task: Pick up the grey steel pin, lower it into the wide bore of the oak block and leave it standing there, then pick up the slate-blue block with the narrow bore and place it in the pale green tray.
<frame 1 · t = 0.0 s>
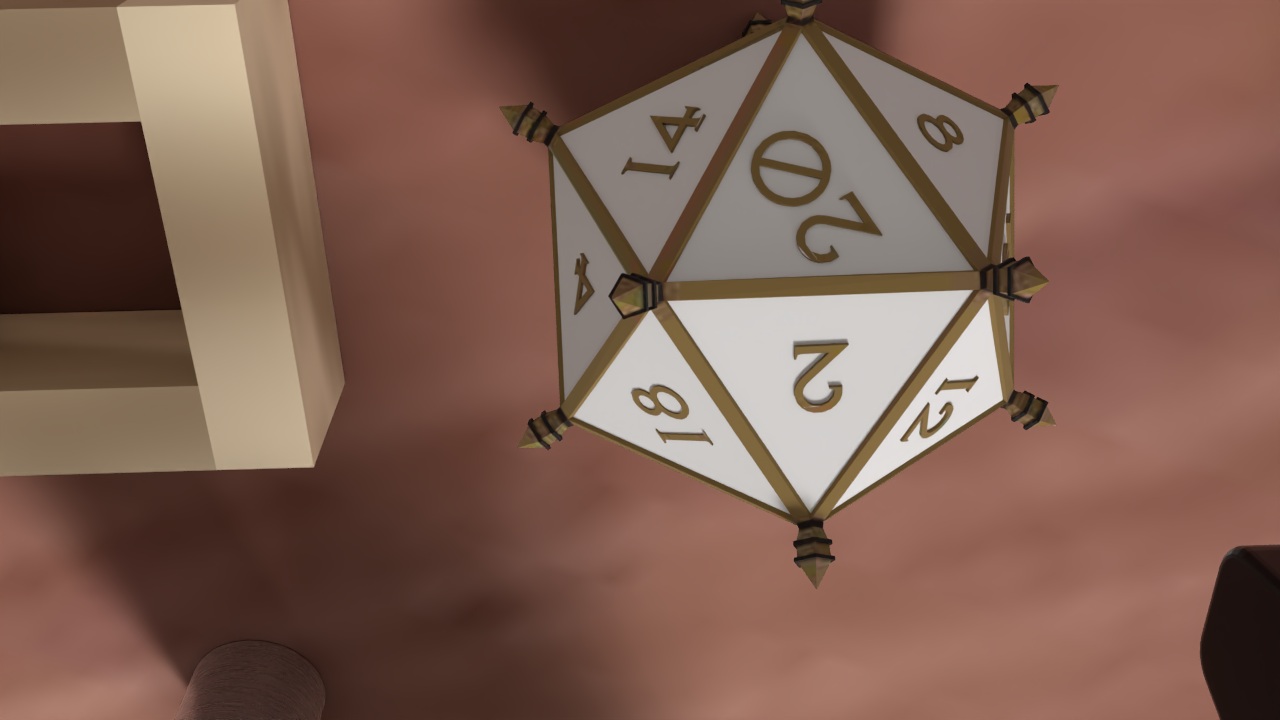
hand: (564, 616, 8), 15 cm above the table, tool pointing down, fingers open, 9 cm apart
game die: (753, 176, 23), on the table
steel pin: (259, 690, 28), on the table
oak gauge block: (94, 197, 22), on the table
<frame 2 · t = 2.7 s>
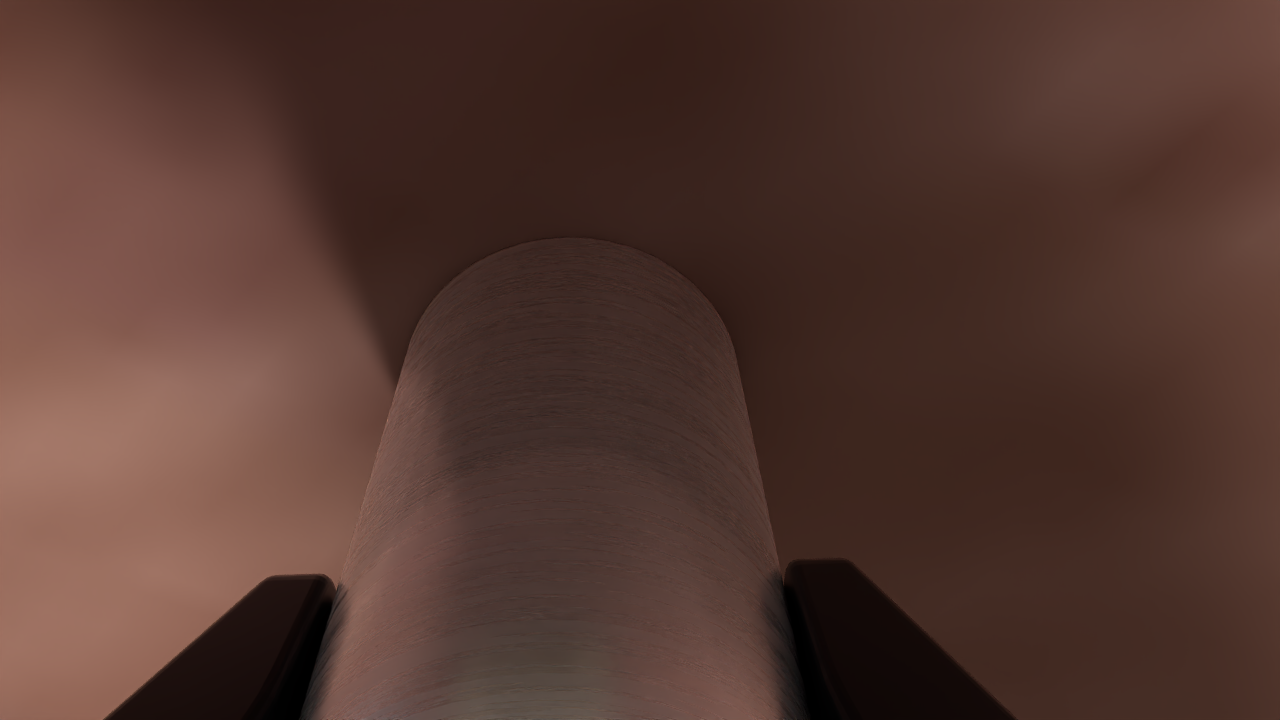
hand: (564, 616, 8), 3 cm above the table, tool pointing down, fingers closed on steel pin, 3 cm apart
steel pin: (572, 392, 11), on the table, touching gripper
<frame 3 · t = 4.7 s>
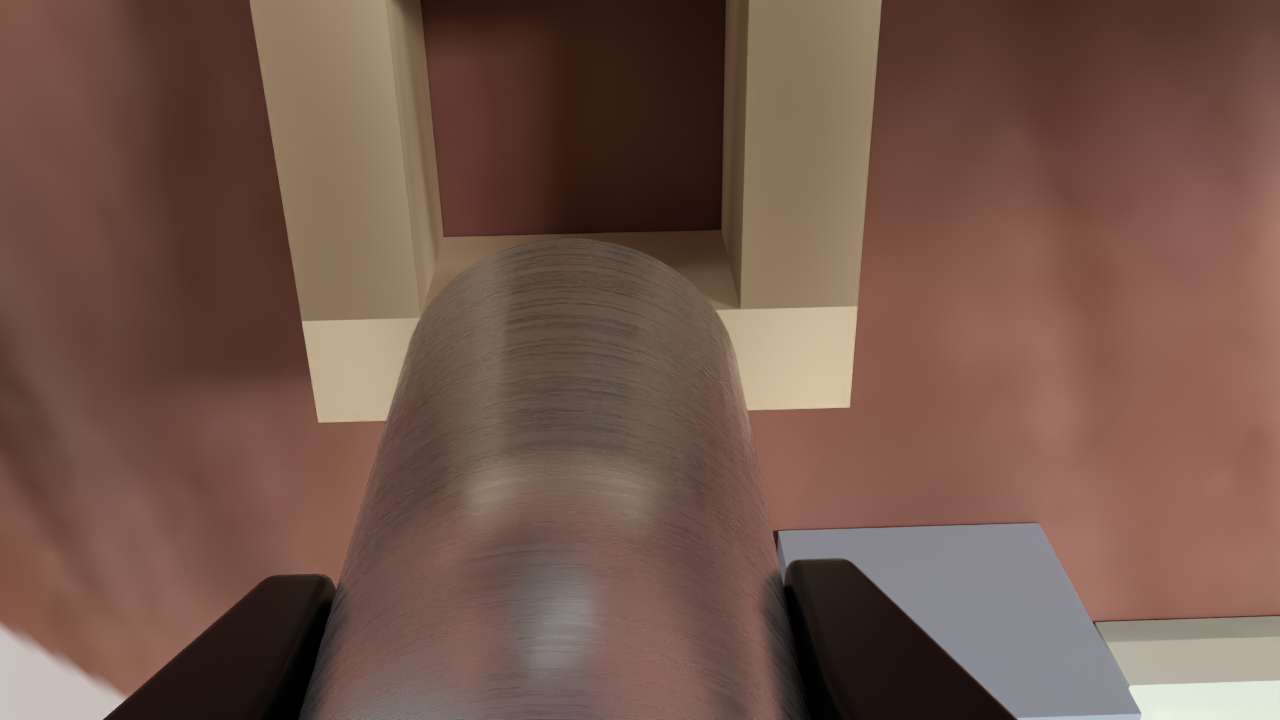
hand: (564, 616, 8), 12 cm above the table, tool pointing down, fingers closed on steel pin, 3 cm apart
slate block: (897, 628, 24), on the table
steel pin: (572, 393, 11), point 9 cm above the table, touching gripper
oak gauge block: (577, 97, 19), on the table
when the fingers open (4 cm above the table, at t = 6.7 s): steel pin stays where it is, resting in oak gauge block.
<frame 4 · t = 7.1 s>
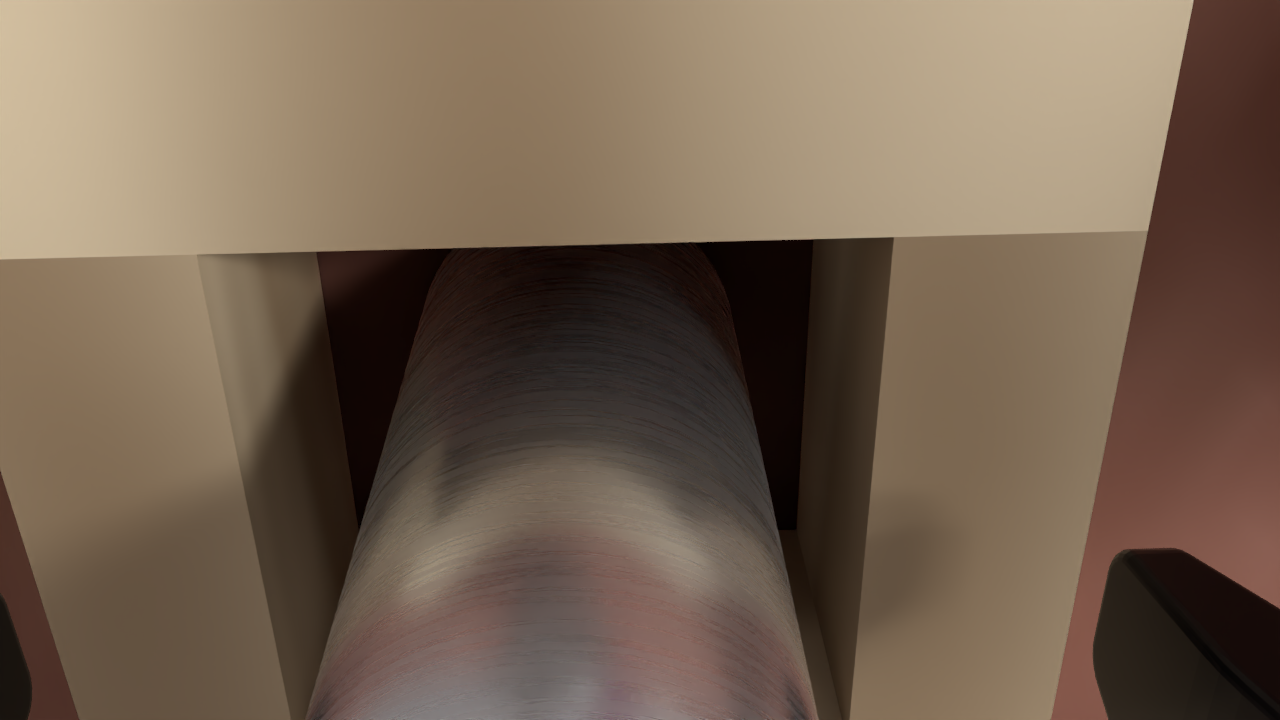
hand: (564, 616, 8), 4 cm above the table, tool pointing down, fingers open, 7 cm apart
steel pin: (578, 340, 12), resting in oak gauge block
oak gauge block: (570, 343, 12), on the table
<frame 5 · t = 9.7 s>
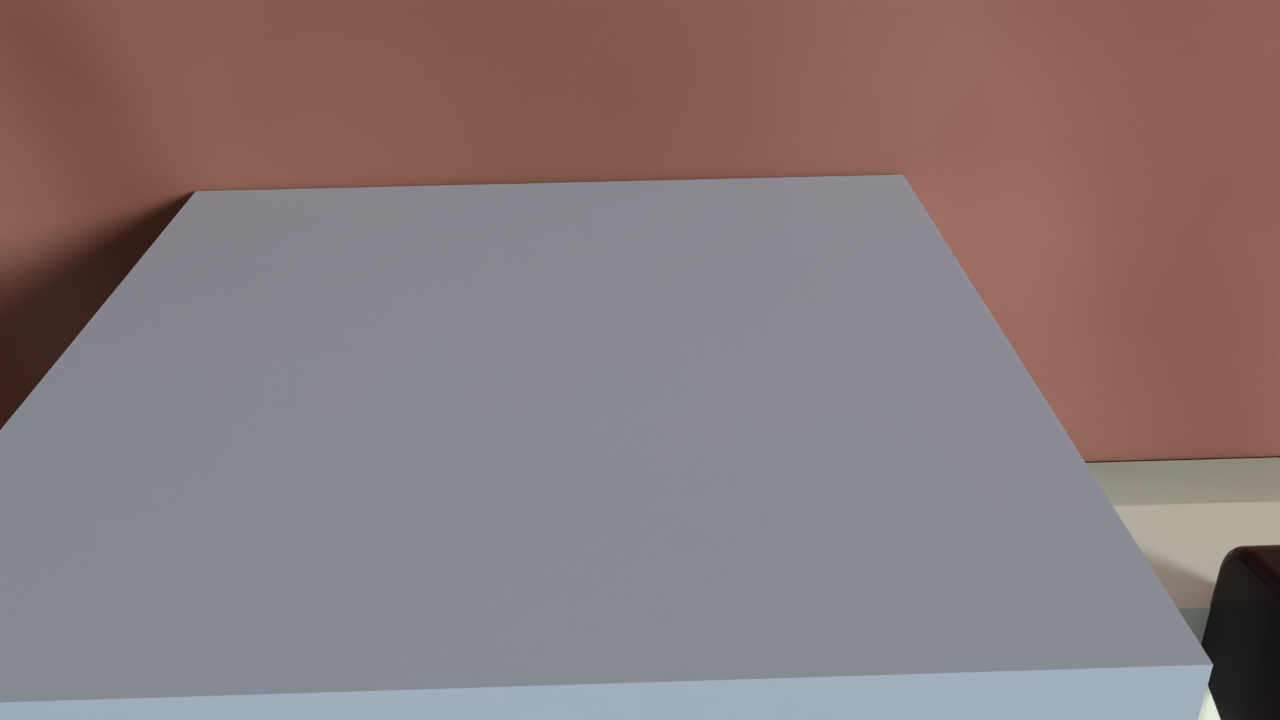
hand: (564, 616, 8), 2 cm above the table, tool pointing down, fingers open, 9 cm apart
slate block: (566, 476, 10), on the table
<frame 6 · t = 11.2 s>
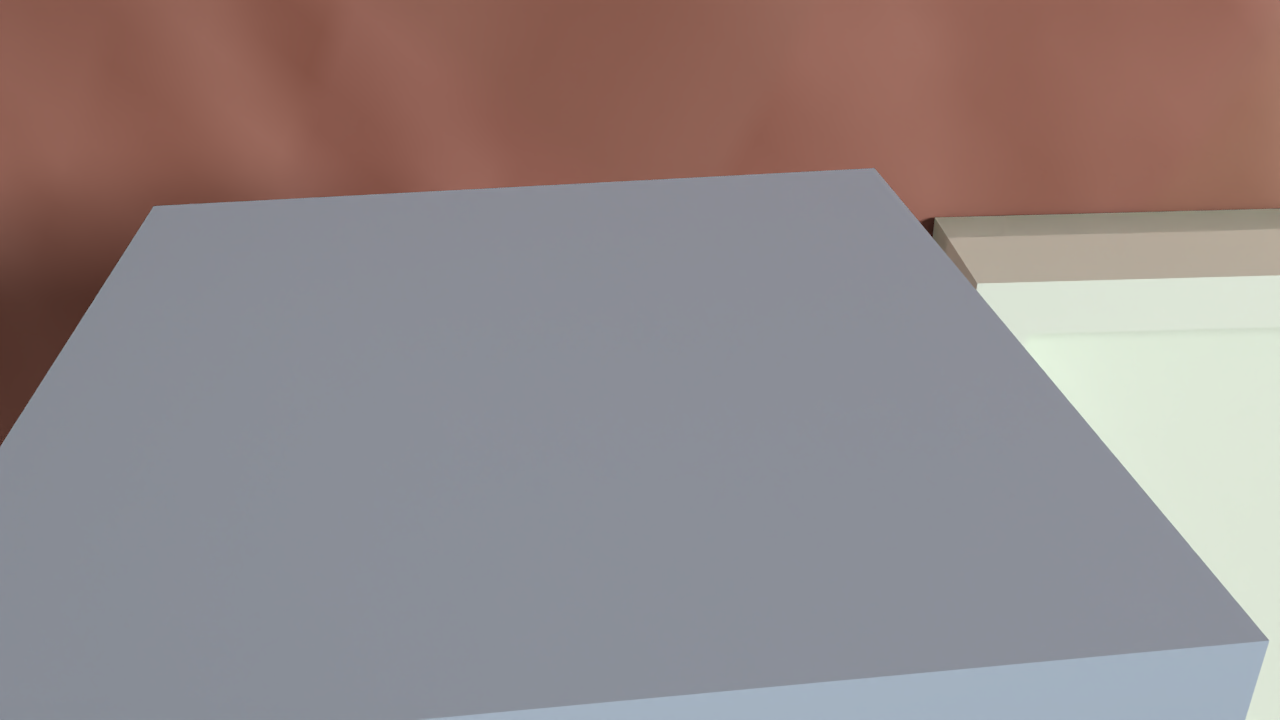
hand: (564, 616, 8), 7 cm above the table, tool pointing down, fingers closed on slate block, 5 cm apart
slate block: (542, 484, 10), point 5 cm above the table, touching gripper
tray: (1265, 552, 17), on the table
when the fingers open (3 cm above the table, at t = 14.0 s): slate block drops 1 cm, resting on tray.
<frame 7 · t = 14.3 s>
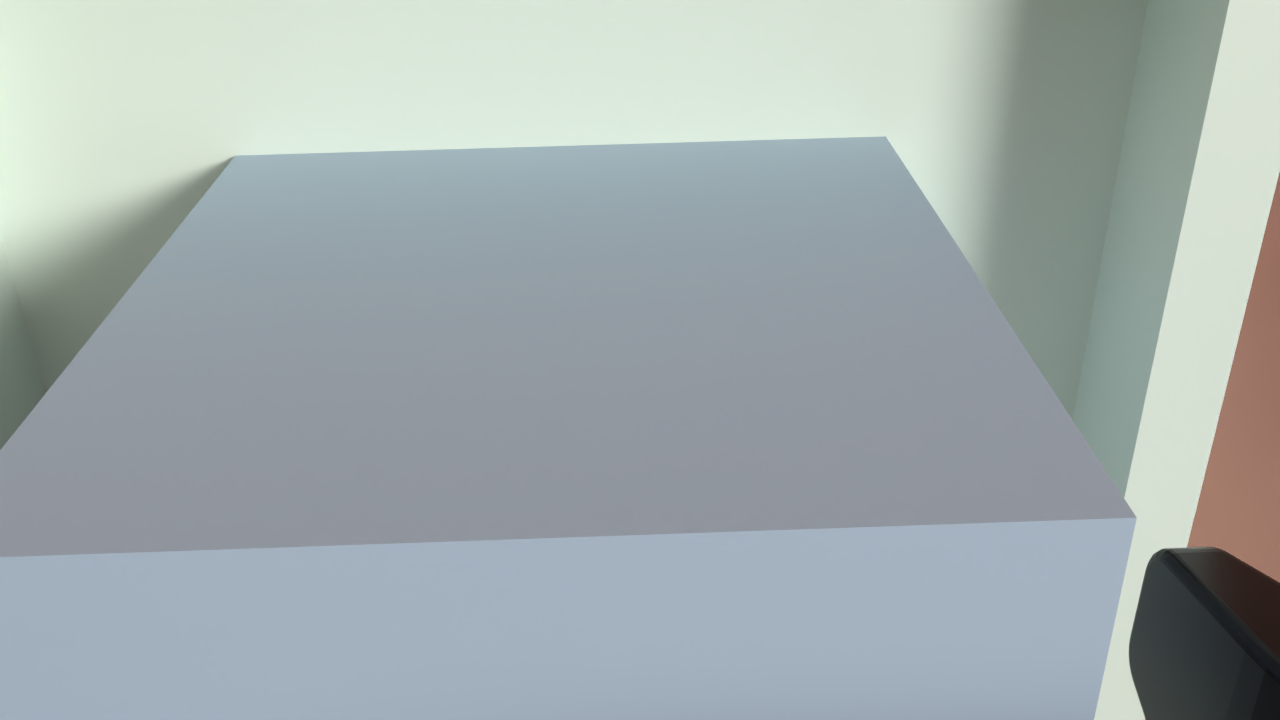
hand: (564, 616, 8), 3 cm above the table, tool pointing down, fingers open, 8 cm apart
slate block: (576, 423, 11), point 1 cm above the table, touching tray
tray: (571, 387, 11), on the table
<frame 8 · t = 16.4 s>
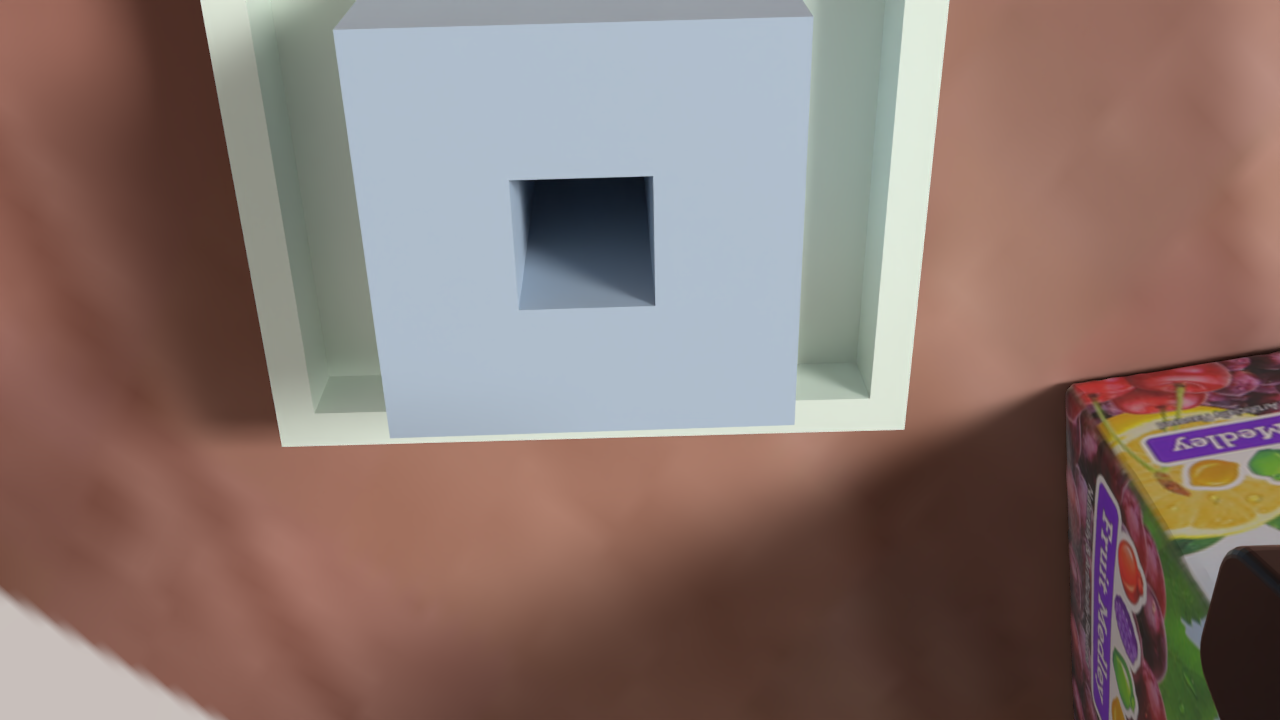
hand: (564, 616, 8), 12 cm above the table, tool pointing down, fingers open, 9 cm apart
slate block: (587, 113, 18), point 1 cm above the table, touching tray
tray: (584, 100, 19), on the table
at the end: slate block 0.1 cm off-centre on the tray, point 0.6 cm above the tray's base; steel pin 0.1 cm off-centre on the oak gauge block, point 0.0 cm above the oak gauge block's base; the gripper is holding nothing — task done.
